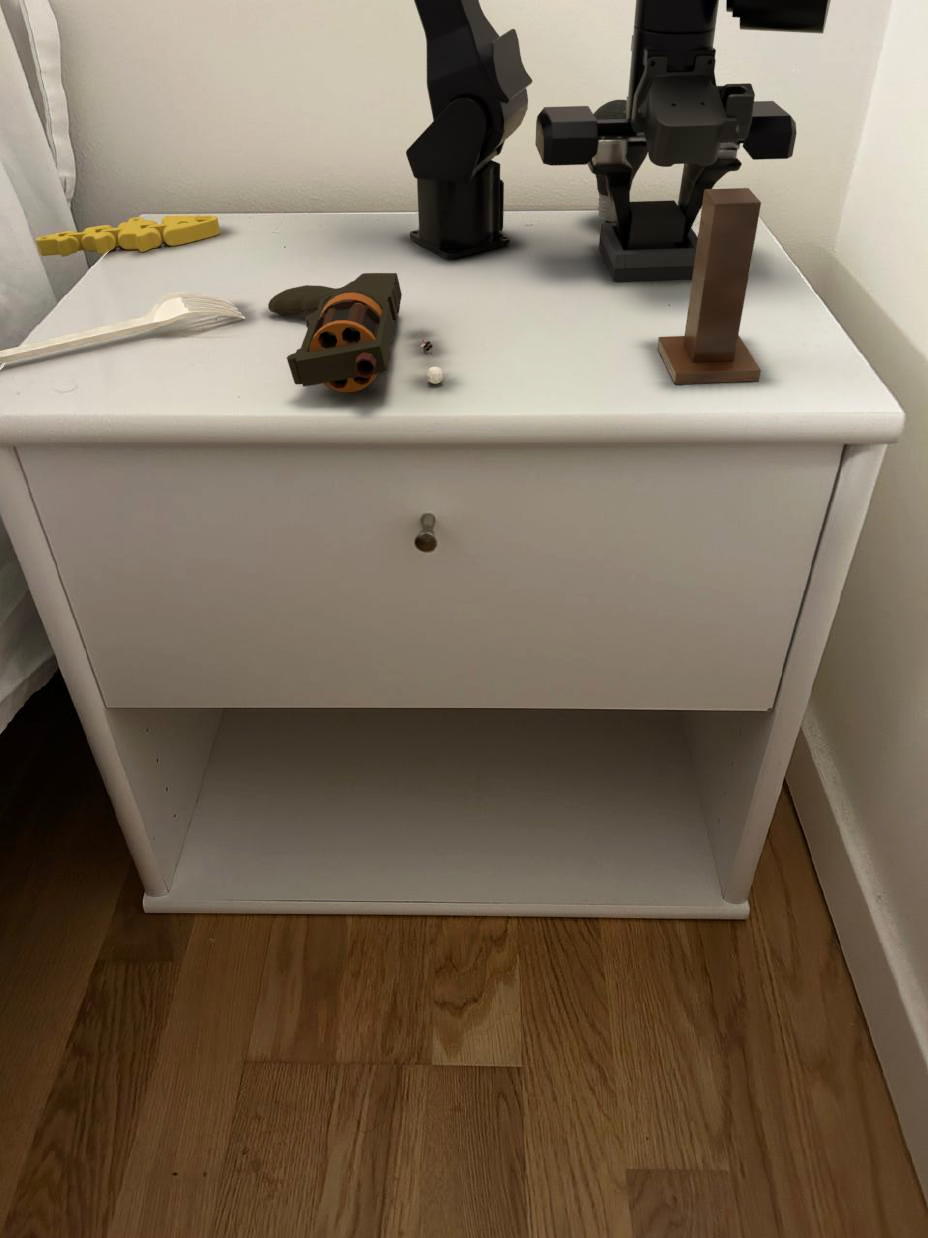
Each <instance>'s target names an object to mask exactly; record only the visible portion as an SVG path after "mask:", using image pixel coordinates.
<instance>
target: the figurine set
mask: <svg viewBox="0 0 928 1238" xmlns="http://www.w3.org/2000/svg"><path fill="white" fill-rule="evenodd" d="M417 335H418V336H421V334H420V332H419V333H418V334H417ZM421 341H422V344H421V345H420V347H419V348H424V349H425V351H426V352H428V351H430V350H431V349H432V348H433V344H432V343H431V341H430V340H428V341H427V340H426V339H421ZM429 358H430V360H433V357H432V355H429ZM443 378H444V372H443V370H442V369H441V368H440V367H439V366H432V367H429V368H428V369H427V372H426V379H427V381H428V382H429V383H430V384H433V385H436V384H439V383H441V382H442V381H443Z"/></svg>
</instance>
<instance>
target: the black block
mask: <svg viewBox="0 0 928 1238" xmlns="http://www.w3.org/2000/svg"><path fill="white" fill-rule="evenodd" d="M685 218H686V217H685V215H684V214H683V212H682V211H681V209H680V208H679V207H678V203H677V202H676V201H675V200H673V199H671V200H645V201H644V200H643V201H630V235H629V238H630V240H631V242H632V244H646V243H676V242H682V241H683V234H684V226H685Z"/></svg>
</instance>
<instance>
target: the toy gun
mask: <svg viewBox="0 0 928 1238" xmlns="http://www.w3.org/2000/svg"><path fill="white" fill-rule="evenodd" d="M398 276H399V275H398V273H397V272H364V273H361V274H359V276H357V278H355V279H354V280H353V281H350V282H348V283H347V284H345V285H344V286H341V287H336V288H334V287H331V286H330V287H329V286H325V285H312V284H311V285H309V284H306V285H301V286H295V287H290V288H287V289H285V290H283V291H280V292H278V293H277V294H275V295H274V296H273V297H272V298H271V299H270V300H269V302H268V303H267V305H268V306H267V308H268V310H269V311H270V312H272V313H274V314H277V315H279V316H280V315H287V314H297V315H298V314H303V313H308V314H309V315H307V316H306V317H304V322H305V326H306V328H307V330H306V332H305V335H304V338H303V341H302V343H301V346H300V348H298V349H296V351H295V352H294V353H291V354H288V355H287V356H286V360H287V364H288V367H289V370H290V374H291V377H292V380H293V383H294V384H295V385H302V387H311V386H315V385H321V384H323V385H324V386H326V387H327V388H330V389H331V390H334V391H337V392H341V393H354V392H357V391H361V390H363V389H365V388H367V387H368V386H369V385H371V384H372V382H374V380H376V378H377V376H378V374H382V373H387V370H388V366H389V360H390V354H391V348H392V343H393V338H394V333H395V324H394V322H395V321H398V316H399V314H400V308H401V301H402V298H403V297H402V294H403V293H402V289H401V284H400V282H399V277H398Z"/></svg>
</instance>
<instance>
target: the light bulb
mask: <svg viewBox="0 0 928 1238" xmlns="http://www.w3.org/2000/svg"><path fill="white" fill-rule="evenodd" d="M626 102H627V99H614V100H610V101H607V102H606V103H604V104H602V105H601V106H600V107H598V108H597V109H596V110H595V111H594V112H593V115H594V116H595V118H596V119H597V120H607V119H626V114H627V112H626ZM641 133H643V134H644V132H637V134H641ZM647 157H648V147H647V146H634V147H627V153H626V159H627V161H628V162H629V164H630V165H631V167H632V168H633V170H632V175H631V181H630V191H631V189H632V185H633V181H634V179H635V176H636V175H637V172H639V169H640V168H641V166H642V165H643V163H644V161H645V160H646V158H647ZM595 178H596V187H597V188H596V189H597V192H598V197H599V198H598V207H597V209H598V216H599V217H600V218H601V219H602V220H603V221H605V223H615V219H614V215H613V211H612V207H611V203H610V199H609V195H608V191H607V188H606V185H605V182H604V180H603V177H602V175H595Z"/></svg>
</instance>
